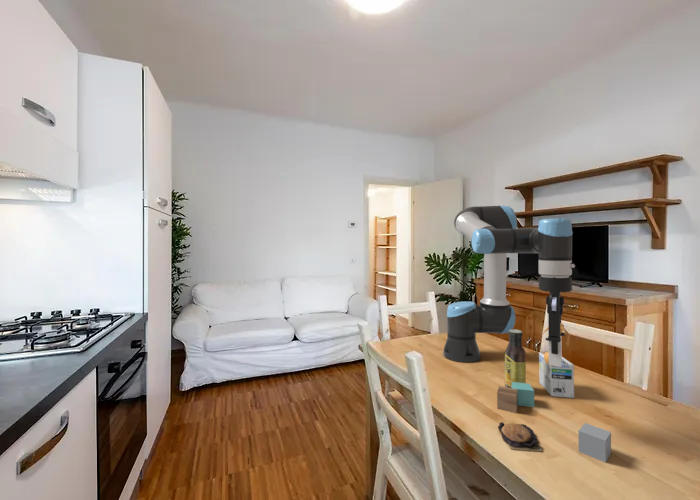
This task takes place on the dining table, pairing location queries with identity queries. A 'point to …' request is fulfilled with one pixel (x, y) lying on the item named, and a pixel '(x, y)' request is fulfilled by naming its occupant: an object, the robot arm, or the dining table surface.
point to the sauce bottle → (515, 359)
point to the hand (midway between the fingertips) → (555, 362)
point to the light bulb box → (557, 377)
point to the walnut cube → (507, 399)
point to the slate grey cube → (595, 442)
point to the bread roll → (519, 437)
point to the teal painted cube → (524, 394)
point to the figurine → (546, 355)
